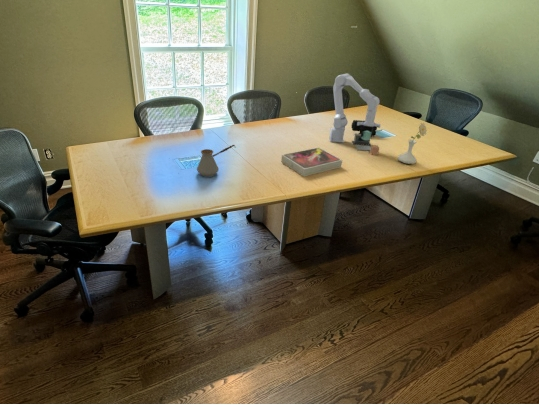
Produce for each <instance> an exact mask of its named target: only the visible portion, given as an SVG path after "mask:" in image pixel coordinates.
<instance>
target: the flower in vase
mask: <svg viewBox="0 0 539 405" xmlns="http://www.w3.org/2000/svg"><path fill="white" fill-rule="evenodd" d="M427 131H428V130H427V125H425V123H424V122H423V123H422V122H421V123H420V124H419V125H418V132H417V133H416V135H414V137H413V135H411V136H410V139H408V140H407V142H408V149H407V151H406V152H404V153H402V154H399V155H398V157H397V160H398V161H399V162H401V163H403V164H406V165H407V164H408V165H413V164H415V163H417V158H416V157H415V155H414V154H413V152H412V151H413V148H414V145H415V144H416V143H417V140H415V139H416V138H417V139H418V140H419V139H421V138H422V137H425V136H426V134H427Z"/></svg>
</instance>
